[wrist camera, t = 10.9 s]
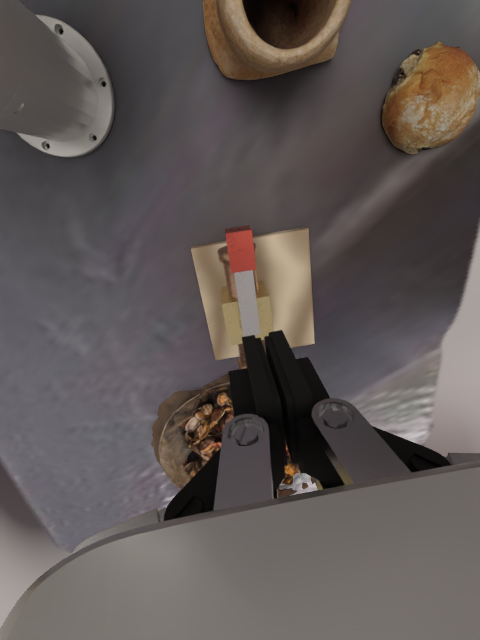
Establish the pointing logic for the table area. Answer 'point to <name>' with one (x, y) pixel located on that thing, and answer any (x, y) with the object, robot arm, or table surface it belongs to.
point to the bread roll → (431, 98)
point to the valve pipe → (232, 307)
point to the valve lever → (244, 276)
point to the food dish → (198, 432)
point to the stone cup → (272, 34)
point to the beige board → (279, 279)
